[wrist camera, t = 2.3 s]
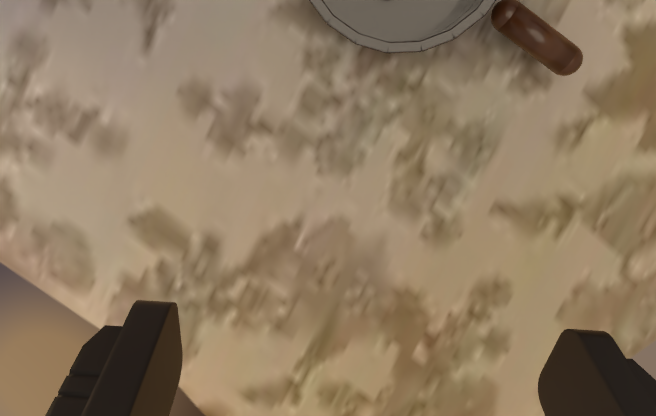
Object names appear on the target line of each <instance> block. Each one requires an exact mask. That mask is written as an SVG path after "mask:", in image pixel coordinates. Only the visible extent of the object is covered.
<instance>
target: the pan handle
mask: <svg viewBox="0 0 656 416" xmlns="http://www.w3.org/2000/svg"><path fill="white" fill-rule="evenodd" d="M491 22H492V24H493V26H494V27H495V28H496V29H497V30H498V31H499V32H501V33H502V34H503V35H505V36H506V37H507V38H509V39H510V40H511V41H513V42H514V43H515V44H517V45H518V46H519V47H521V48H522V49H523V50H525V51H526V52H527V53H529V54H530V55H531V56H533V57H534V58H535V59H537V60H538V61H539V62H541V63H542V64H543V65H545V66H546V67H547V68H549V69H550V70H551V71H552V72H554V73H555V74H557V75H561V76H566V75H570V74H572V73H574V72H576V71H577V70H578V69H579V68H580V66H581V64H582V61H583V55H582V52H581V50H580V49H579V48H578V47H577V46H576V45H575V44H573V43H572V42H571V41H569V40H568V39H567V38H566V37H564V36H563V35H562V34H560V33H559V32H558V31H556V30H555V29H554V28H553V27H551V26H550V25H549V24H547V23H546V22H545V21H544V20H542V19H541V18H540V17H538V16H537V15H536V14H534V13H533V12H532V11H531V10H529V9H528V8H527V7H525V6H524V5H523V4H521V3H520V2H519V1H517V0H502V1H500V2H498V3H497V4H496V5H495V6H494V8H493V10H492V13H491Z"/></svg>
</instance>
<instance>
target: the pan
mask: <svg viewBox="0 0 656 416" xmlns="http://www.w3.org/2000/svg"><path fill="white" fill-rule="evenodd" d="M309 1H310V2H311V4H312V5H313V6H314V8H315V9H316V10H317V12H318V13H319V14H320V16H321V17H322V18H323V20H324V21H325V22H326V23H327V24H328V25H329V26H330V27H332V28H333V29H335V30H336V31H337V32H339V33H340V34H342V35H343V36H344V37H346V38H347V39H349V40H350V41H352V42H353V43H355V44H357V45H361V46H364V47H367V48H371V49H374V50H378V51H381V52H384V53H407V52H421V51H425V50H428V49H430V48H433V47H436V46H438V45H441V44H444V43H446V42H449V41H451V40H454V39H455V38H457V37H458V36H460V35H461V34H462V33H463V32H465V31H466V30H467V29H468V28H470V27H471V26H472V25H474V24H475V23H476V22H477V21H479V20H480V19H481V18H483V16H485V15H486V13H487V12H488V10H489V9H490V8H491V6H492V5H493V4H494V2H495V1H496V0H309Z"/></svg>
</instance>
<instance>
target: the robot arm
mask: <svg viewBox="0 0 656 416" xmlns="http://www.w3.org/2000/svg"><path fill="white" fill-rule="evenodd" d="M181 369H182V344H181V335H180V325H179V316H178V308H177V304H176V303H174V302H159V301H143V300H137V301H136V302H135V303H134V304H133V306H132V308H131V310H130V312H129V314H128V316H127V318H126V320H125V323H124V325H123V327H122V326H106V325H105V326H104V327H103V328H102V329H101V330H100V331H99V332H98V333H97V334H95V335H94V336H93V337H92V338H91V339H90V340H89V341H88V342H87V343H86V344H84V345H83V347H82V349H81V351H80V352H79V354H78V356H77V358H76V360H75V362H74V364H73V365H72V367H71V369H70V373H69V376H67V377H66V378H65V380H64V382H63V384H62V386H61V388H60V389H59V391H58V393H59V394H58V396H57V397H55V399H54V401H53V402H52V404H51V406H50V408H49V410H48V412H47V414H46V416H169V414H170V410H171V407H172V404H173V400H174V397H175V394H176V390H177V387H178V384H179V380H180V375H181ZM538 394H539V399H540V403H541V406H542V408H543V411H544V413H545V416H656V380H655V379H654V378H652V377H651V376H650V375H649V374H648V373H647V372H646V371H645V370H644V369H643V368H642V367H641V366H639V365H638V364H637V363H636V362H635V361H634V360H633V359H626V358H625V356H624V355H623V353H622V352H621V350H620V349H619V347H618V346H617V344H616V342H615V341H614V339H613V338H612V337H611V336H610V335H609V334H608V333H606V332H604V331H592V330H577V329H566V330H564V331H563V332H562V333H561V335H560V337H559V339H558V341H557V342H556V344H555V346H554V348H553V350H552V352H551V354H550V356H549V358H548V360H547V362H546V364H545V366H544V368H543V370H542V372H541V374H540V377H539V381H538Z"/></svg>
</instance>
